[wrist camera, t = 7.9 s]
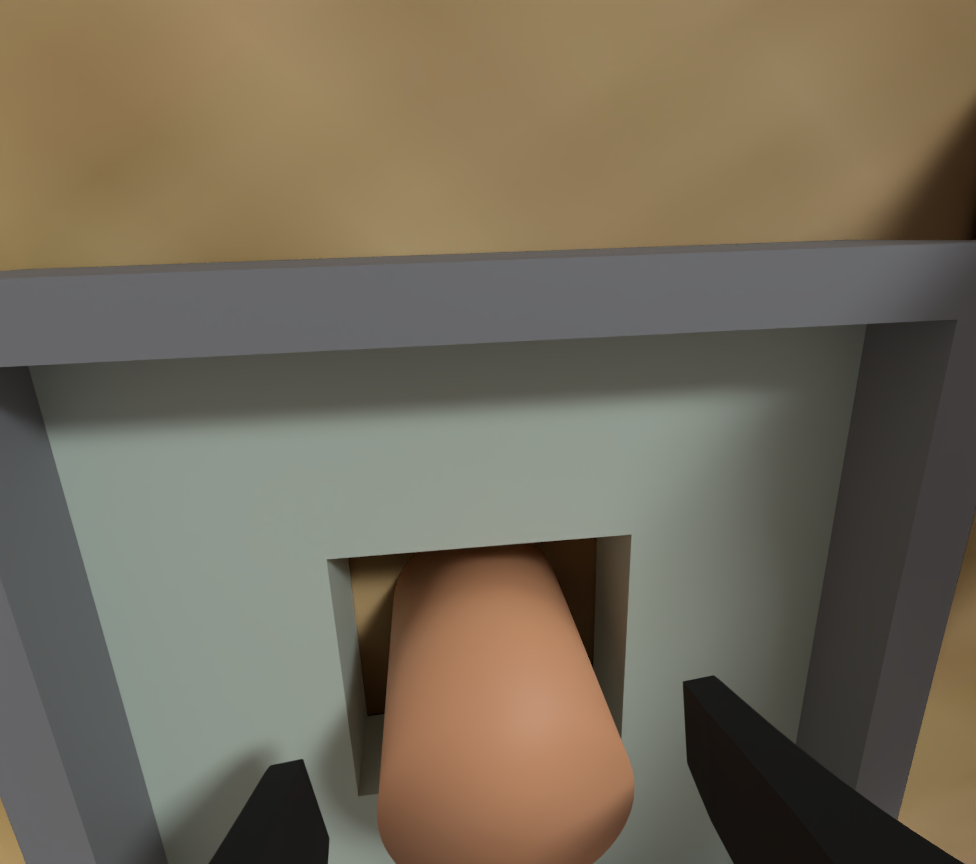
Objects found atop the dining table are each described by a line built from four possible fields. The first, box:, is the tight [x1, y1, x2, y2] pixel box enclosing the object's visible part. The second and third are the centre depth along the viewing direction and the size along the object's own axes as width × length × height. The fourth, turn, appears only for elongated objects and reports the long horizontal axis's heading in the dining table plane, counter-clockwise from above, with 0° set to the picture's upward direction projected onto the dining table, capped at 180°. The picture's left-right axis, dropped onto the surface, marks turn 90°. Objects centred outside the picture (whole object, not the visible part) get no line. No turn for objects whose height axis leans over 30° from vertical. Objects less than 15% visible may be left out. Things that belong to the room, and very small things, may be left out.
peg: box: [377, 543, 635, 864], centre depth 13 cm, size 4×4×6 cm
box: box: [0, 240, 976, 864], centre depth 14 cm, size 18×18×4 cm
